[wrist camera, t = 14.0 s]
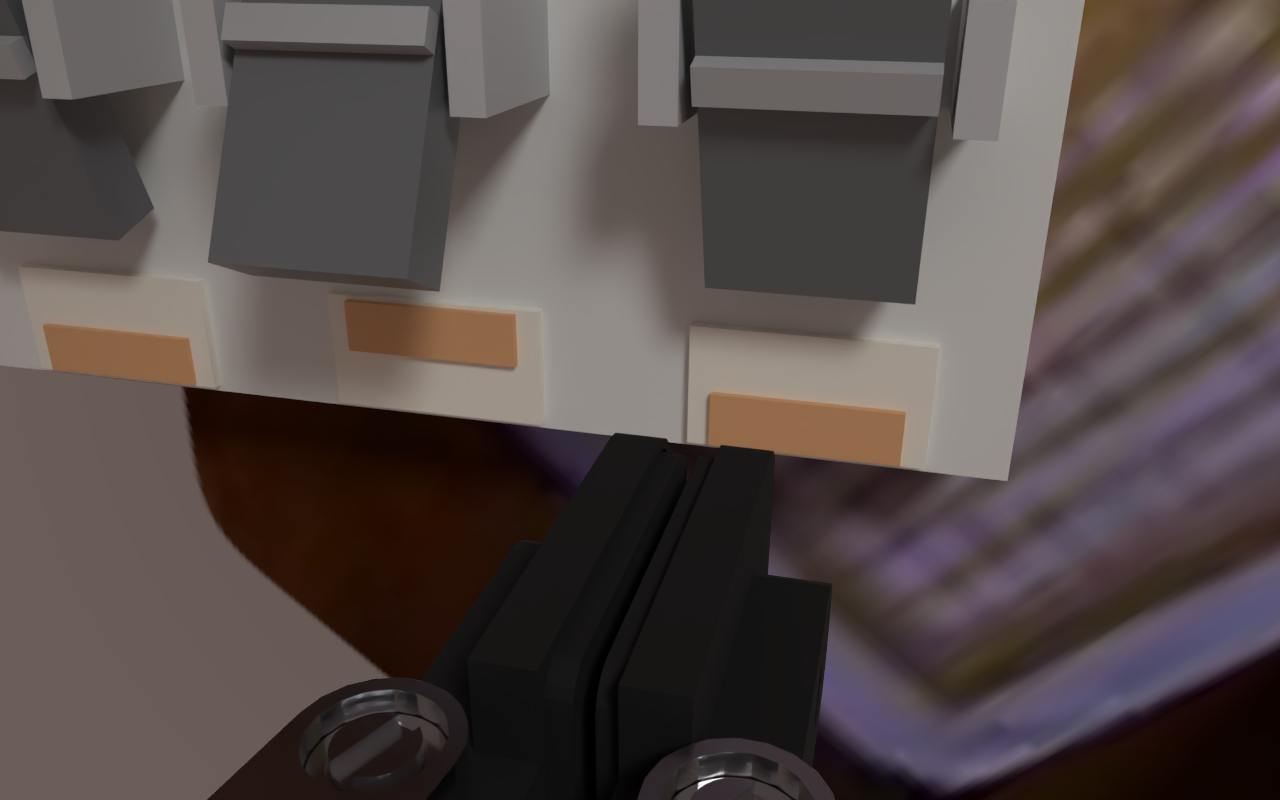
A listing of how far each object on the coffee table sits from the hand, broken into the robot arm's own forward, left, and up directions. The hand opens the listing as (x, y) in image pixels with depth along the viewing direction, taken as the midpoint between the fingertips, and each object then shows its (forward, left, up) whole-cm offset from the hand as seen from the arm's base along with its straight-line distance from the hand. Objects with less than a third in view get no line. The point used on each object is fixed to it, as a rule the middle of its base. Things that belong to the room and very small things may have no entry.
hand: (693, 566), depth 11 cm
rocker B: (-4, -10, -12) cm, 16 cm away
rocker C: (-4, 0, -12) cm, 13 cm away
